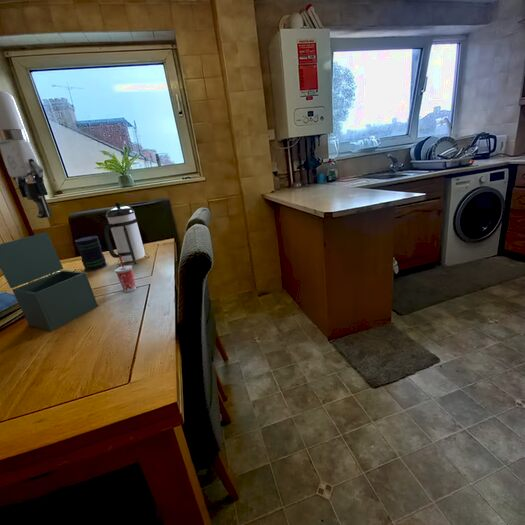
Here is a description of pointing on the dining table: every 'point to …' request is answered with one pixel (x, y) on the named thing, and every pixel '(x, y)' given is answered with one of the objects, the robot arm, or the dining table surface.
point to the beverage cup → (126, 277)
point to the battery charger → (37, 201)
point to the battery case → (55, 299)
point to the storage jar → (91, 253)
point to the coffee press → (124, 234)
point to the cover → (28, 259)
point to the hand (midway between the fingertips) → (35, 195)
